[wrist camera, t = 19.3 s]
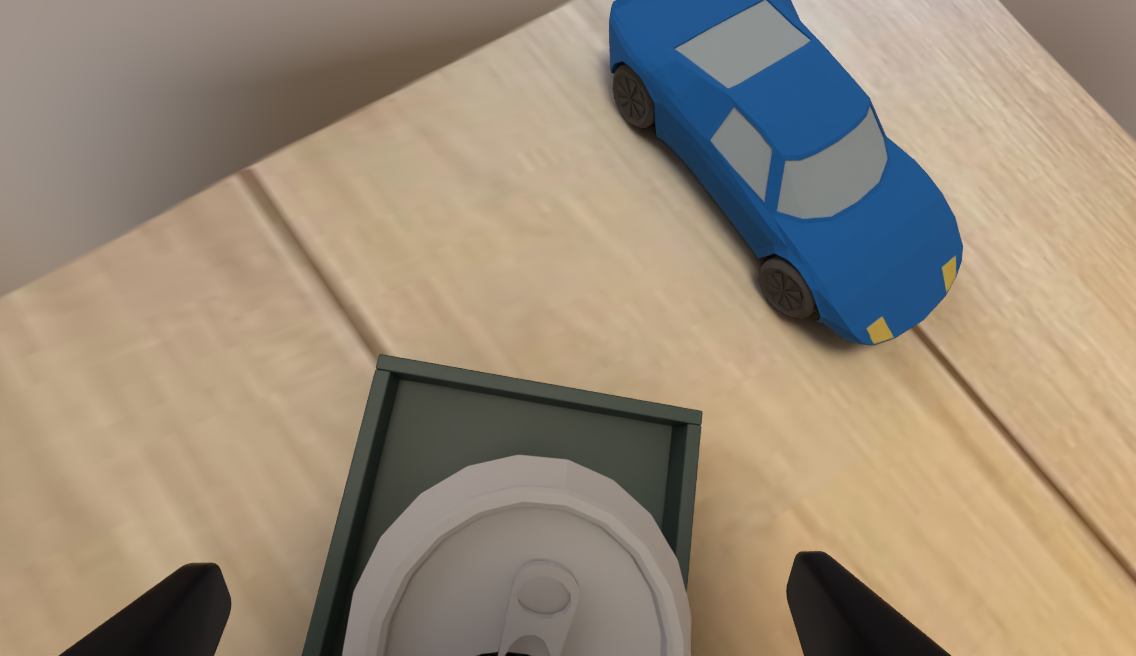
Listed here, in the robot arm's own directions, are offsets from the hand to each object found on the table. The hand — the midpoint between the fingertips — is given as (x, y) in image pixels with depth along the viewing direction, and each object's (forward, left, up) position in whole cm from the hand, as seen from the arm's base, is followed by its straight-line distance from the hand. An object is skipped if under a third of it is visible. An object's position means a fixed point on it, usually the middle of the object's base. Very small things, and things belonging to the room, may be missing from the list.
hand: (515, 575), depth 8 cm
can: (-2, -1, -14) cm, 14 cm away
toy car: (+19, -8, -15) cm, 26 cm away
